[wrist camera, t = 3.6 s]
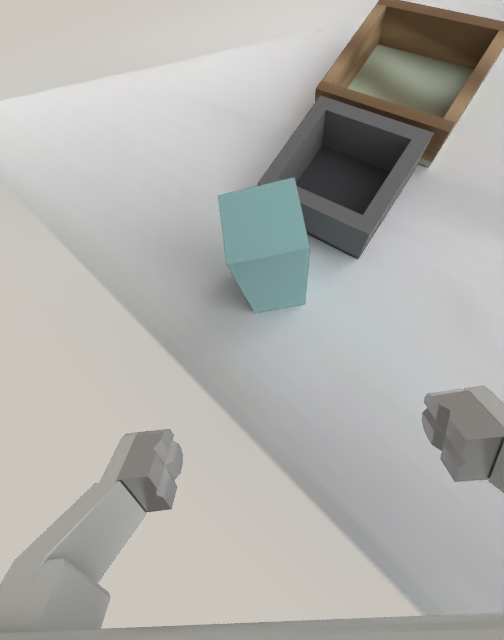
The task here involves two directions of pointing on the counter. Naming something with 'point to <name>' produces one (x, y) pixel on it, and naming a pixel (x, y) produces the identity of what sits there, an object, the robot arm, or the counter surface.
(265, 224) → the teal block
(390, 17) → the walled bay
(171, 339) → the counter surface
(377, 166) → the box
